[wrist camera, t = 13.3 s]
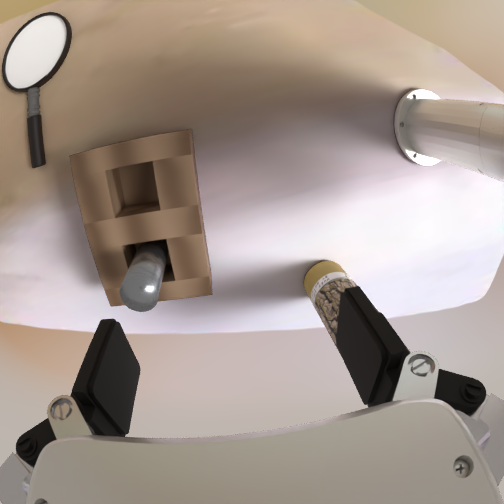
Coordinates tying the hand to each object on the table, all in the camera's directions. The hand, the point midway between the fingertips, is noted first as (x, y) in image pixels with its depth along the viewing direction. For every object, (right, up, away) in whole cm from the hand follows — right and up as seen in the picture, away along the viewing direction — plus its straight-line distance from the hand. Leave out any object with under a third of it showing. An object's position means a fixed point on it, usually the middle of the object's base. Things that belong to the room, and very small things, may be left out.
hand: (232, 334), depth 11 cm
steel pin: (-12, +4, +26) cm, 29 cm away
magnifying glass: (-29, +26, +14) cm, 42 cm away
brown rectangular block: (-13, +9, +25) cm, 29 cm away
